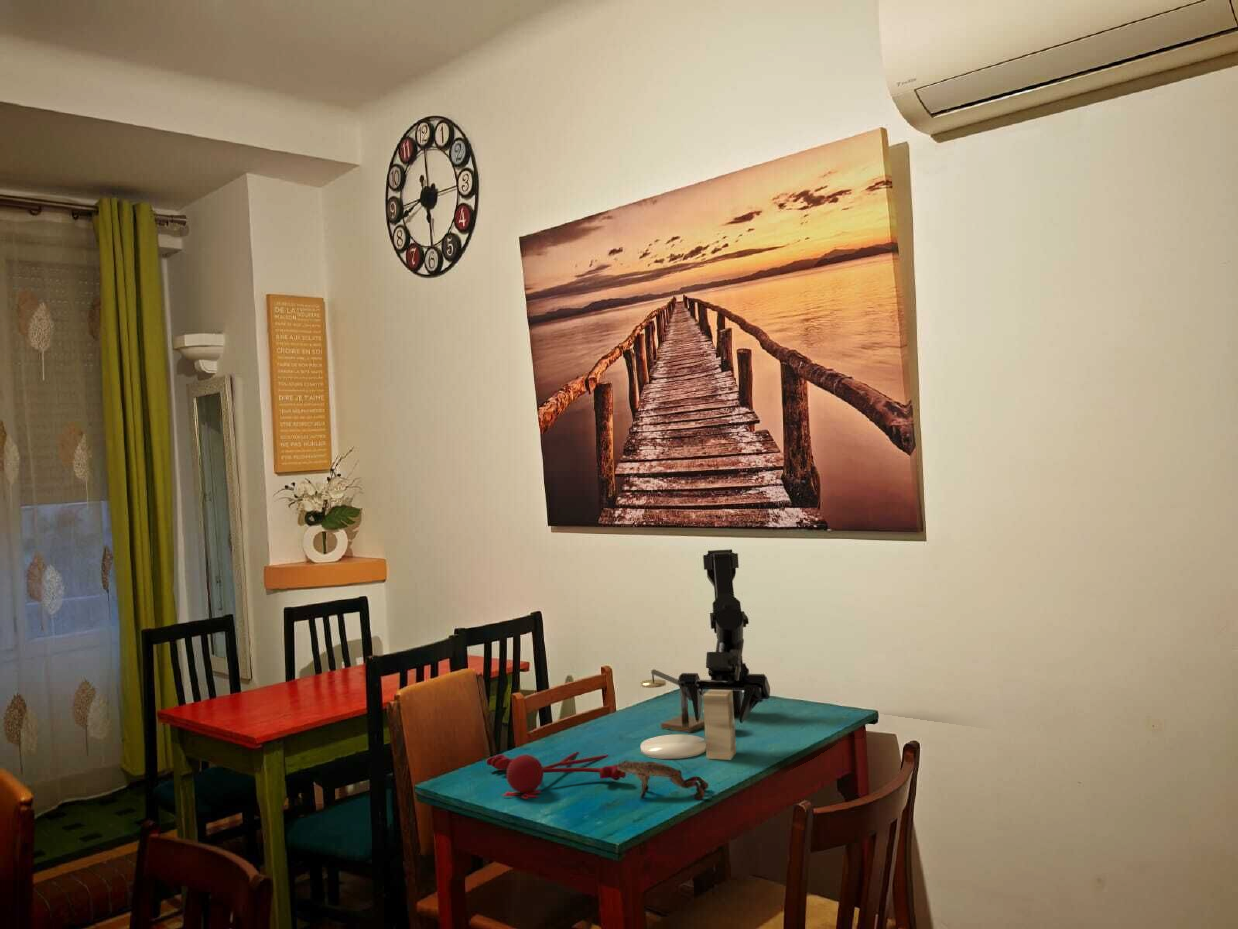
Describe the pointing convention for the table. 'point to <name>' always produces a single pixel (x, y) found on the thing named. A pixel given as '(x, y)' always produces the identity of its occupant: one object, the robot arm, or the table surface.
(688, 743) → the saucer
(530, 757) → the toy
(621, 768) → the toy
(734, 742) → the birch block
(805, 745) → the table surface
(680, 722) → the balance
